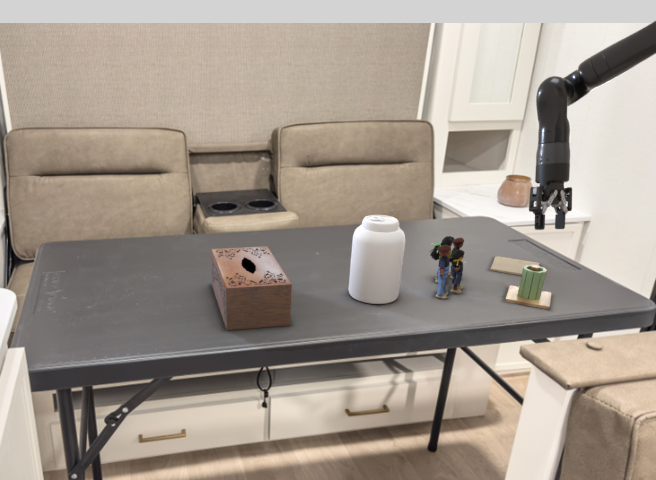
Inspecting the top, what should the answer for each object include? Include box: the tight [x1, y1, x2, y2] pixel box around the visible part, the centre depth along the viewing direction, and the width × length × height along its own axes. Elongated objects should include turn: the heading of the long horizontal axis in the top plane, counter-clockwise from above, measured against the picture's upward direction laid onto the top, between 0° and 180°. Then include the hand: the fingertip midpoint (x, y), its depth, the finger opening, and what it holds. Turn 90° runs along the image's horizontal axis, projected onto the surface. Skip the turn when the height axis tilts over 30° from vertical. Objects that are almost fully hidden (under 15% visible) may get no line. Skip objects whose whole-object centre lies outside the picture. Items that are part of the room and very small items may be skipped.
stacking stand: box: [504, 265, 552, 311], centre depth 144 cm, size 10×10×9 cm
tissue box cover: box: [210, 245, 293, 331], centre depth 138 cm, size 26×14×10 cm, turn 11°
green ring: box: [518, 265, 547, 300], centre depth 144 cm, size 5×5×7 cm
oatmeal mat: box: [489, 255, 541, 277], centre depth 166 cm, size 12×12×1 cm
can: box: [348, 214, 406, 305], centre depth 142 cm, size 12×12×20 cm
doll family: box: [429, 235, 467, 300], centre depth 150 cm, size 23×9×13 cm, turn 170°
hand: (549, 229), depth 145 cm, fingers open, 8 cm apart
